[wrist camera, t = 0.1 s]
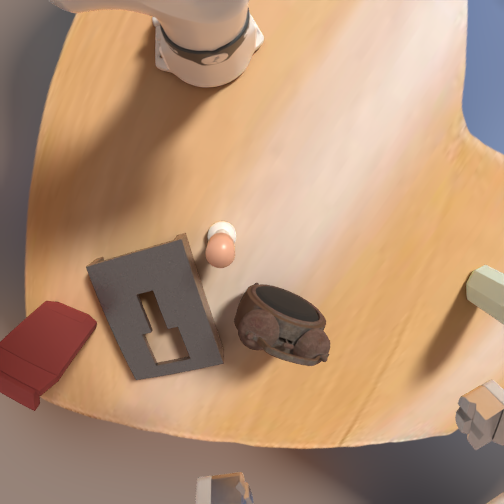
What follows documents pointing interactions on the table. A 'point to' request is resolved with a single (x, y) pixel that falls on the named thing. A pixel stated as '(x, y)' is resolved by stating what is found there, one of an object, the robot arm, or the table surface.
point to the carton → (41, 351)
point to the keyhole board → (170, 303)
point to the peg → (221, 244)
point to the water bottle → (487, 291)
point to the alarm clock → (282, 325)
